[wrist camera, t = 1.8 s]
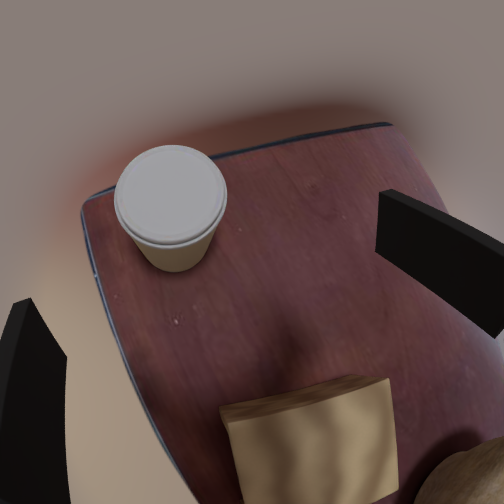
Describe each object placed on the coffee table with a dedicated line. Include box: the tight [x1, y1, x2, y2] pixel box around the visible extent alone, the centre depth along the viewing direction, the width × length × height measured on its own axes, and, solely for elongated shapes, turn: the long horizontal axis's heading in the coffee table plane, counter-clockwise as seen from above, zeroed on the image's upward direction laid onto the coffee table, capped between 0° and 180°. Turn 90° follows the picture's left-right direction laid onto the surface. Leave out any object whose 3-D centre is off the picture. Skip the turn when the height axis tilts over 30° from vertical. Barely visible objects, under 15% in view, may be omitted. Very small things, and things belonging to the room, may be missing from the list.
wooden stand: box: [219, 375, 399, 504], centre depth 26 cm, size 16×14×8 cm
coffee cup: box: [114, 145, 227, 272], centre depth 29 cm, size 9×9×12 cm
